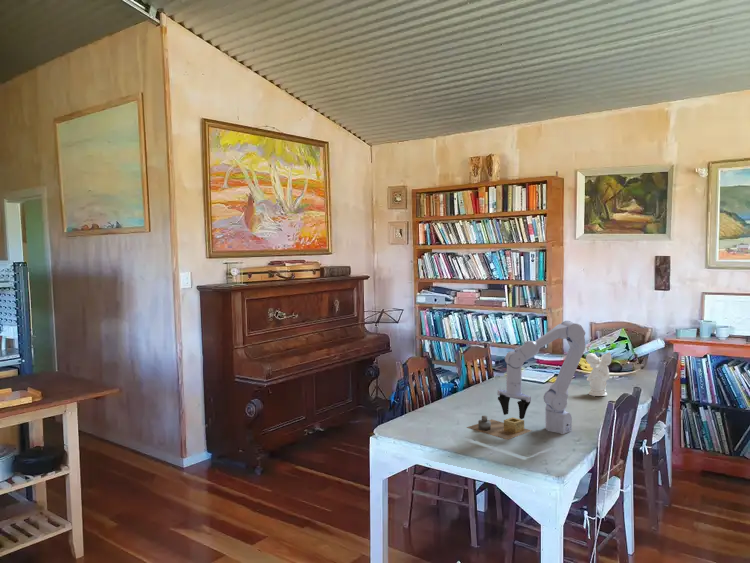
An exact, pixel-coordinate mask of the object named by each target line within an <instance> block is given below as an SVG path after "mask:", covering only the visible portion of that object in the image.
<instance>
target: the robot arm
mask: <svg viewBox="0 0 750 563" xmlns="http://www.w3.org/2000/svg"><path fill="white" fill-rule="evenodd" d="M585 336H586V331H585V330H584V327H583V326H582V325H581V324H579V323H576V322H573V321H570V320H565V321H562V322H561V323H558V324H557V325H555V326H554V327H553V328H551V329H550V330H549V331H548V332H546V333H545V334H543V335H542V336H540V337H539V338H537V339H536V340H535V341H534V340H529V341H528V340H525V341H524V344H522V345H521V346H518V347H515V348H514V350H510V351H508V352H507V353H506V355H505V357H504V361H505V363H506V390H504V389H498V390H497V396H498V397H497V400H498V401H499V404H500V407H501V409H502V413H503V415H504V416H506V415H508V414H509V409H510V408H509V405H510V400H511V399H516V400H519V401H517V406H518V414H519V415H518V416H519V418H518V419H521V420H523V419H525V416H526V412H527V410H528V407H529V406H530V404H531V402H532V396H531V395H527V394H525V393H523V392H522V378H523V377H522V375H523V374H522V366H523V365H524V363H525V362H526V361H528V360H530V359H531V358H533V357H535V356H536V355H538V354H539V353H540V349H541V348H542V347H545V346H547V345H549V344H550V343H552V342H554V341H556V340H557V339H562V340H563V339H565V340H566V341H567V343H568V345H569V349H568V351H567V353H566V356H565V358H564V360H563V363H562V366H561V367H560V370H559V372H558V373H557V376H556V379H555V381H554V383H552V384H551V385H550V387H549V388H548V389H547V391H545V393H544V395H543V402H544V404H545V405H546V406H545V430H546V431H547V432H551V433H557V434H561V435H566V434H567V433H570V432H572V430H573V428H572V426H573V425H572V424H573V421H572V419H573V418H572V414H571V413H570V412H568V411H566V408H567V405H568V397H569V390H568V389H569V387H570V384H571V382H572V380H573V378H574V376H575V373H576V371H577V368H578V366H579V364H580V362H581V359H582V357H583V355H584V352H585V351H586V338H585Z"/></svg>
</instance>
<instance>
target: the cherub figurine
mask: <svg viewBox="0 0 750 563" xmlns="http://www.w3.org/2000/svg"><path fill="white" fill-rule="evenodd" d="M585 361H586V362H587V364H588V365H589V366H590V368H592V369H591V372H590V373H589V375H588V376H587V378H586V381H587V382H589V387H590V389H589V391H588V392H587V394H588V395H589V396H592V397H595V396H605V397H607V396H608V393H607V390H606V388H607V381H608V380H610V369H609V366H610V365H611V364H612V354H611V352H610V351H609V352H606V353H604V354H602V355H601V356H600V357H598V356H597V354H595V353H594V352H590V353H589V352H588V353H587V354H586V356H585Z"/></svg>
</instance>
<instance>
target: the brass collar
mask: <svg viewBox="0 0 750 563" xmlns="http://www.w3.org/2000/svg"><path fill="white" fill-rule="evenodd" d="M503 423H504V430H505V431H508V432H512V433H515V434H516V433H519V432H521V431H524V428H525V419H524V420H523V419H520V418H516V417H509V418H507V419H503Z"/></svg>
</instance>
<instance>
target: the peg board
mask: <svg viewBox="0 0 750 563" xmlns="http://www.w3.org/2000/svg"><path fill="white" fill-rule="evenodd" d="M477 422H478V423H476V424H472V425H469V426H466V428H467V429H470V430H473V431H476V432H480V433H483V434H487V435H489V436H493V437H497V438H500V439H503V440H505V441H508V440H510V439H513V438H515V437H518V436H522V435H525V434H527V433H530V432H532V431H533V430H532V429H528V428H525V427H524V431H521V432H519V433H516V434H515V433H512V432H508V431H505V430H504V421H499V420H495V419H492V418H491V419H488V416H487V415H481V419H479V420H478V421H477Z"/></svg>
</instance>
